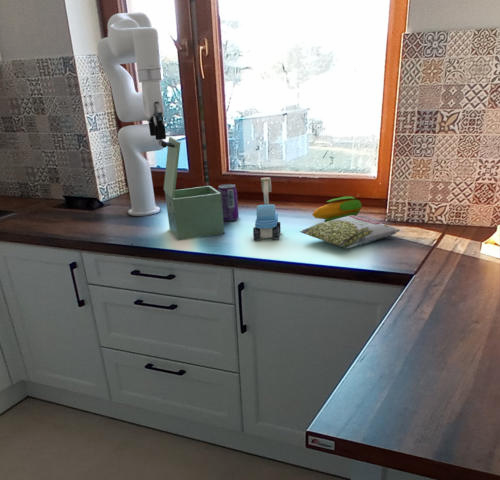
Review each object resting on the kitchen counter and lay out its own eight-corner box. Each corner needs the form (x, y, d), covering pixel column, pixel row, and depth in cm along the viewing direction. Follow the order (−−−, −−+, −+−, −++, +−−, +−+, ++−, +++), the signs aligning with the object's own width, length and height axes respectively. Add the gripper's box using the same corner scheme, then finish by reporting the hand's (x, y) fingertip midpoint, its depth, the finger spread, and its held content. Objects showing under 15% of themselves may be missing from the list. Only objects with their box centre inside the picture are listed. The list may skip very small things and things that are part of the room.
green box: (213, 224, 213) (210, 185, 206) (224, 233, 201) (221, 193, 194) (169, 230, 209) (164, 191, 202) (178, 240, 197) (173, 199, 190)
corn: (367, 194, 204) (318, 203, 197) (366, 217, 208) (319, 226, 201) (354, 192, 210) (307, 201, 203) (354, 214, 214) (308, 223, 207)
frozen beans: (298, 222, 185) (356, 207, 196) (298, 240, 188) (355, 224, 199) (344, 237, 170) (403, 220, 182) (343, 257, 173) (401, 239, 185)
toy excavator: (282, 227, 203) (280, 175, 194) (279, 241, 189) (277, 186, 180) (257, 228, 204) (255, 176, 195) (253, 242, 190) (250, 187, 181)
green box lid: (171, 137, 194) (156, 134, 192) (180, 142, 182) (164, 139, 180) (165, 190, 202) (151, 188, 200) (174, 198, 190) (159, 196, 188)
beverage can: (241, 217, 218) (239, 183, 212) (234, 222, 213) (232, 188, 206) (223, 216, 220) (221, 183, 214) (216, 221, 215) (213, 187, 208)
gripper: (133, 75, 183) (142, 135, 193) (142, 78, 169) (151, 142, 179) (157, 74, 185) (164, 133, 194) (168, 76, 171) (175, 139, 180)
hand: (158, 137), depth 186 cm, fingers open, 9 cm apart
